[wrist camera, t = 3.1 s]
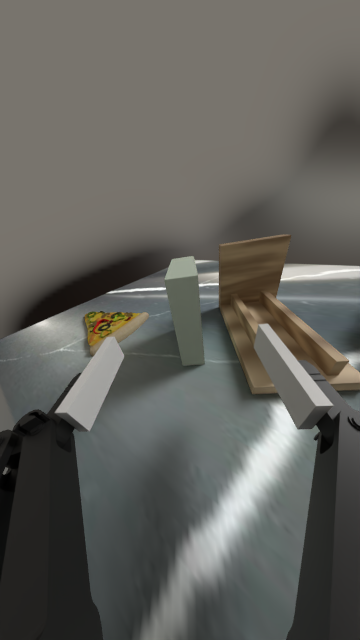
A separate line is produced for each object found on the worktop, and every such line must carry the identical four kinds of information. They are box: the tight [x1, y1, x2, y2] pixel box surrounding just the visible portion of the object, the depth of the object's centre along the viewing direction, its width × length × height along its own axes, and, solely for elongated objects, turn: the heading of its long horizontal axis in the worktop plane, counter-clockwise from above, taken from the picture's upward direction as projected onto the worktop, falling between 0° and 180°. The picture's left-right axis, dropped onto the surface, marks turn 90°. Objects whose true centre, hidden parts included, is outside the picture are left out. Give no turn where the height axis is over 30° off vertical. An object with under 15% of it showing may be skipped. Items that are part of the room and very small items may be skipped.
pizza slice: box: [85, 311, 149, 356], centre depth 37 cm, size 16×21×3 cm
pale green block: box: [164, 256, 205, 366], centre depth 23 cm, size 10×4×14 cm, turn 178°
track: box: [219, 234, 360, 394], centre depth 22 cm, size 22×12×14 cm, turn 178°
